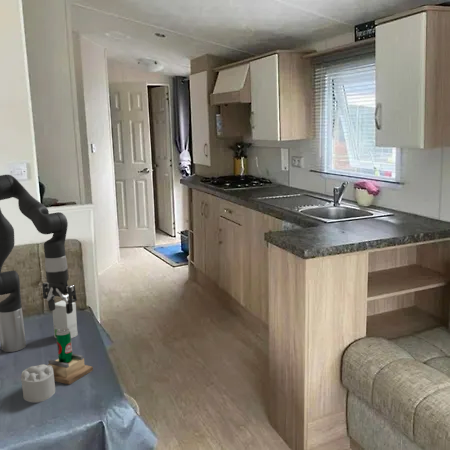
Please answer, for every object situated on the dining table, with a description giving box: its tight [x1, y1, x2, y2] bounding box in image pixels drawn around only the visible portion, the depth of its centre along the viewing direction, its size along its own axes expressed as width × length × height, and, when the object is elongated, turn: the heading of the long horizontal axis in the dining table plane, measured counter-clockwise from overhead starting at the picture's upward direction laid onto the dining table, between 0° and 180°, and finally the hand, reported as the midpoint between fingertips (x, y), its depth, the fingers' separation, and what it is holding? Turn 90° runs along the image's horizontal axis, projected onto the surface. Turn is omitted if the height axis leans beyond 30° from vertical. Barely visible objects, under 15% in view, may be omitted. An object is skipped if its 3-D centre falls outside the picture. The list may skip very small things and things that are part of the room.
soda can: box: [55, 328, 74, 363], centre depth 183 cm, size 5×5×12 cm
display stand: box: [47, 353, 94, 386], centre depth 184 cm, size 14×12×6 cm
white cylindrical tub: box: [20, 363, 56, 403], centre depth 170 cm, size 10×13×9 cm
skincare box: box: [52, 299, 79, 340], centre depth 220 cm, size 8×7×16 cm
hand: (60, 311), depth 181 cm, fingers open, 8 cm apart
